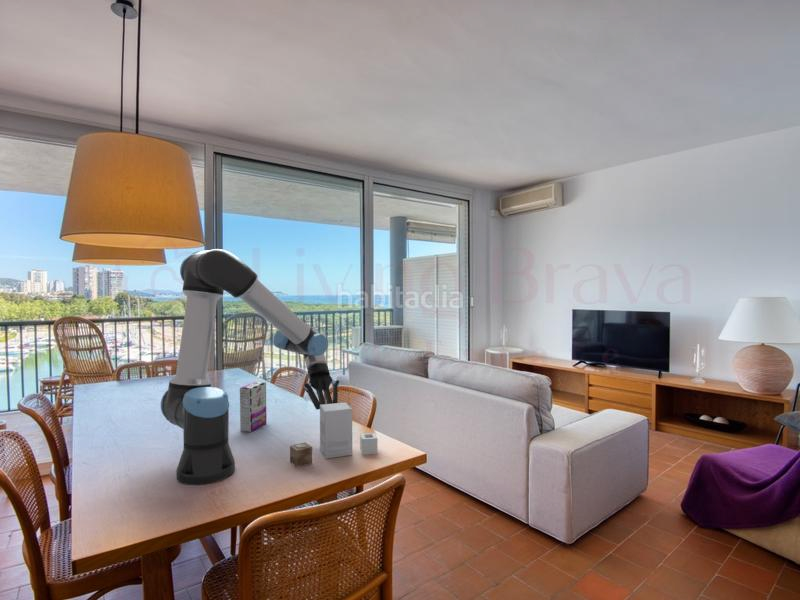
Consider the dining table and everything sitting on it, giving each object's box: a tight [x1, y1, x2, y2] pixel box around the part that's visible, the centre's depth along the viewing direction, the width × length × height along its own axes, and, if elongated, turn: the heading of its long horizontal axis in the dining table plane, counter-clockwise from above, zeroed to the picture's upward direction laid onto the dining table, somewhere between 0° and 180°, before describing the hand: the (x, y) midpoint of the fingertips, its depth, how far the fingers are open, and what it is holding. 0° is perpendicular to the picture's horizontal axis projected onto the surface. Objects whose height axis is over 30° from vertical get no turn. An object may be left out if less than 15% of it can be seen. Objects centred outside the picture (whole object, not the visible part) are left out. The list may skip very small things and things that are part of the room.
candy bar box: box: [239, 381, 267, 433], centre depth 162 cm, size 11×5×16 cm, turn 168°
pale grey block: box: [359, 432, 378, 455], centre depth 139 cm, size 5×5×5 cm
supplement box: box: [319, 402, 353, 460], centre depth 138 cm, size 9×9×15 cm
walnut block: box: [289, 442, 313, 468], centre depth 129 cm, size 5×5×5 cm
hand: (331, 425), depth 143 cm, fingers closed
